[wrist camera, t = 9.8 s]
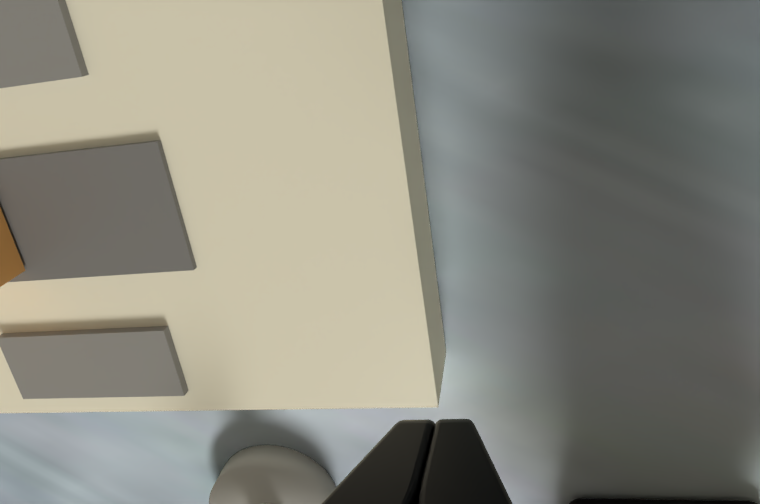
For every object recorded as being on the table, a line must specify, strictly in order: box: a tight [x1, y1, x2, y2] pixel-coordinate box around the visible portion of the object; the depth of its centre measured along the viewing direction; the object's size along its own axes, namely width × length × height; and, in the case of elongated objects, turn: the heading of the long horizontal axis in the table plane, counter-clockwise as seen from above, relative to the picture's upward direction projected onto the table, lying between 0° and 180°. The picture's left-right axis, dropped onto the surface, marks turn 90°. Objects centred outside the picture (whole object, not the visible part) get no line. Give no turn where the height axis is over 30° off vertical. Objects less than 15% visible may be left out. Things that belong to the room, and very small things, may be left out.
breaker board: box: [0, 0, 446, 413], centre depth 20 cm, size 22×14×3 cm, turn 99°
